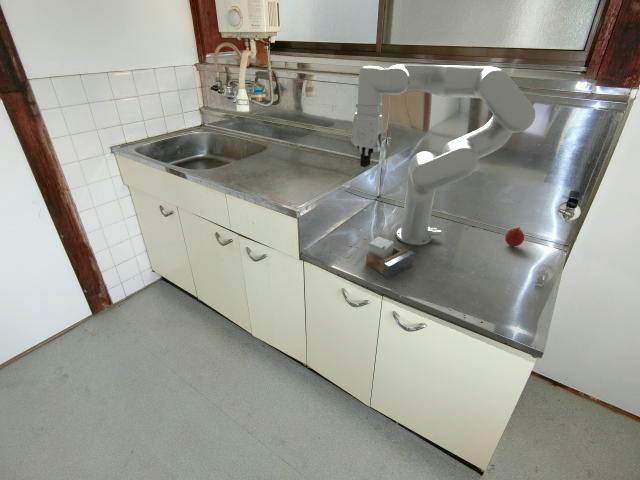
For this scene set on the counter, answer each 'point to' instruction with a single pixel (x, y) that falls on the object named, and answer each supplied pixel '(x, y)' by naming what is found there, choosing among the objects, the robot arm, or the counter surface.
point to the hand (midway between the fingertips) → (365, 165)
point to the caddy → (379, 263)
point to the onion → (514, 237)
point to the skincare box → (381, 248)
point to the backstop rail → (398, 264)
